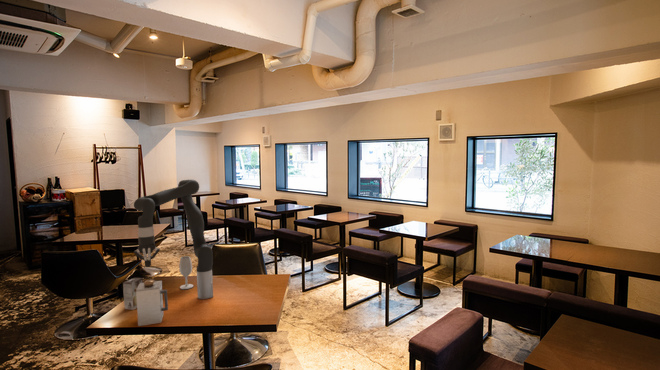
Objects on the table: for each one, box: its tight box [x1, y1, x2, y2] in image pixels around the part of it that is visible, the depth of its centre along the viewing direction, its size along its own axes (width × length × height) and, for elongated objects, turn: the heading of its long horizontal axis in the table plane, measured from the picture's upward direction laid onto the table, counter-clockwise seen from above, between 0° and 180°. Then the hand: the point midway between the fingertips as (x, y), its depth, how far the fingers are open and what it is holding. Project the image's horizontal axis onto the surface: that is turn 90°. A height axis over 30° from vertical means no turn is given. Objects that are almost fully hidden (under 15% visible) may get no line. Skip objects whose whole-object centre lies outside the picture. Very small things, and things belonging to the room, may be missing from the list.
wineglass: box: [178, 255, 194, 290], centre depth 241 cm, size 9×9×21 cm
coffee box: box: [122, 277, 144, 310], centre depth 211 cm, size 9×6×16 cm
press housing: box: [136, 280, 169, 327], centre depth 193 cm, size 14×11×20 cm
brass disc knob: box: [143, 278, 155, 286], centre depth 192 cm, size 8×8×20 cm
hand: (148, 266), depth 190 cm, fingers closed
